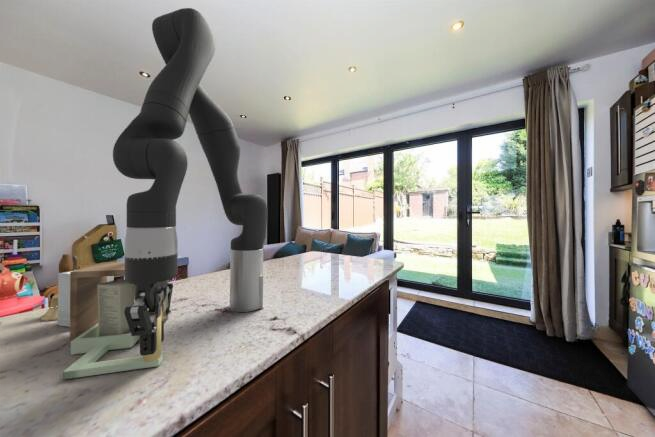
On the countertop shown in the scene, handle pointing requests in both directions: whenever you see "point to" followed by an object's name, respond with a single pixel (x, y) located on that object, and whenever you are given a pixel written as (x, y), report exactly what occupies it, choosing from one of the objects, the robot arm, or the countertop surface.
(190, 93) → the robot arm
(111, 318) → the skincare box
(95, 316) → the brown hollow box
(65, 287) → the supplement box
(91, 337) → the green zigzag lever
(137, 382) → the countertop surface
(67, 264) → the hand bell
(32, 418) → the countertop surface
